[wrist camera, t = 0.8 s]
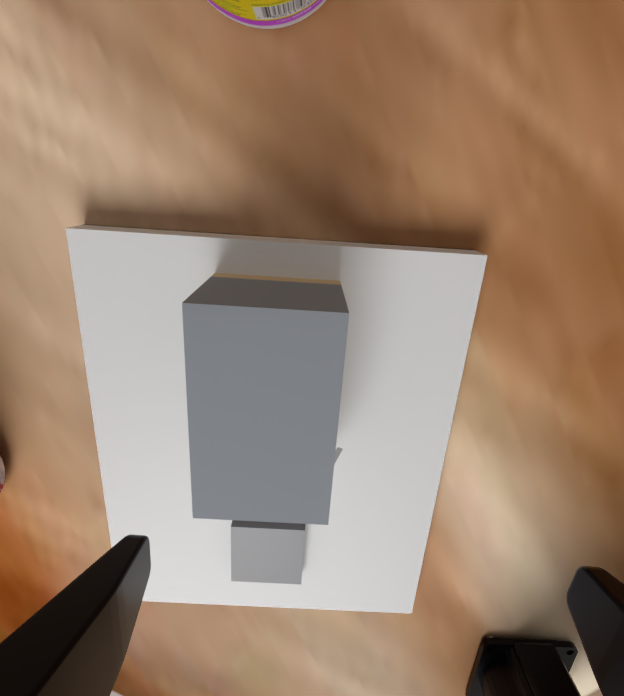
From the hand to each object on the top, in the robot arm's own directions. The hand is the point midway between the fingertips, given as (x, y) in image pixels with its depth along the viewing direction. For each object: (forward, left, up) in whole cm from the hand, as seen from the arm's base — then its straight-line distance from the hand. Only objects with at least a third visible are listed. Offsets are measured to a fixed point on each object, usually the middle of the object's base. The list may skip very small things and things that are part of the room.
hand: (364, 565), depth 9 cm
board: (-6, +3, -13) cm, 15 cm away
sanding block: (-1, +3, -12) cm, 12 cm away
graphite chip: (-12, +3, -12) cm, 17 cm away
